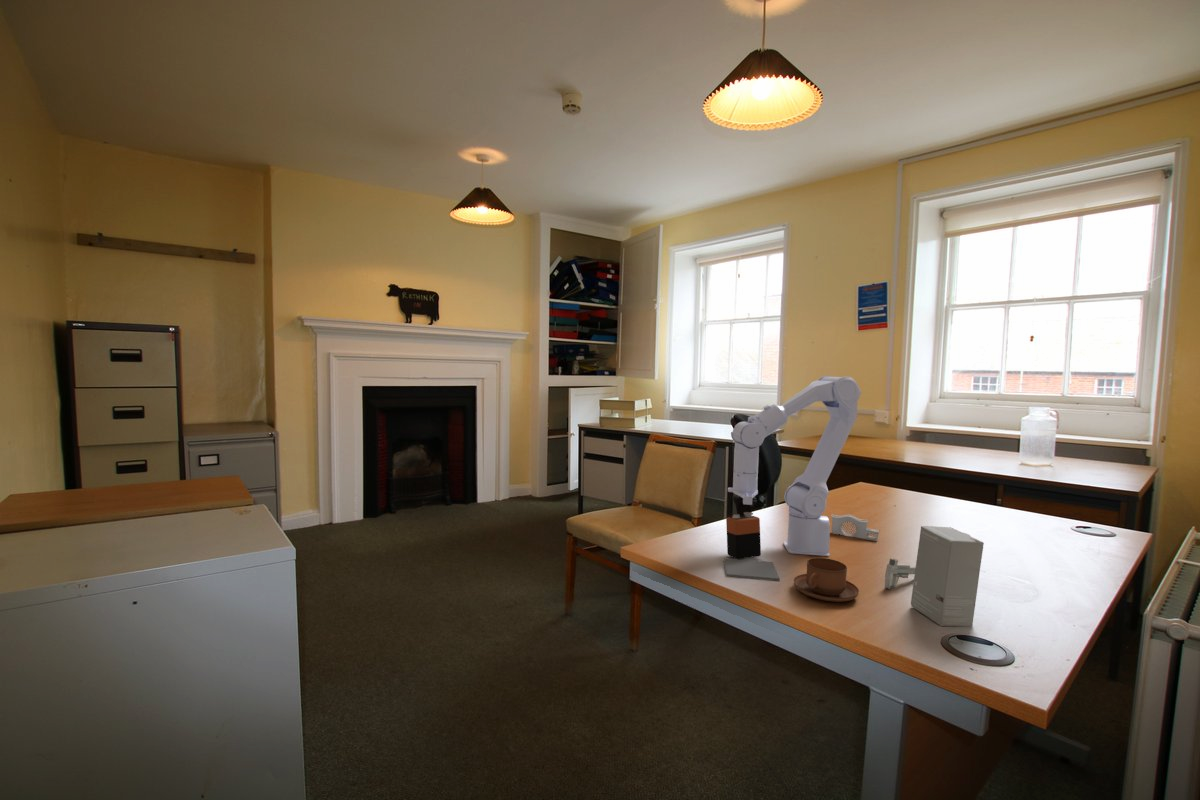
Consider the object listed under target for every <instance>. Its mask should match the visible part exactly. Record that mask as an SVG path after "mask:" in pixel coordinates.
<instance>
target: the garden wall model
mask: <svg viewBox="0 0 1200 800" xmlns="http://www.w3.org/2000/svg"><path fill="white" fill-rule="evenodd" d="M830 518H831V534H835V535H839V534H840V536H844V537H849V538H856V539H862V540H868V541H875V542H878V541H879V533H880V531H881V530H880V529H874V528H869V527H868V523H869V519H862V518H861V519H860V518H858V517H856V516H854V515H852V514H844V515H837V514H833V513H831V514H830Z"/></svg>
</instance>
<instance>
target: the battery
mask: <svg viewBox="0 0 1200 800" xmlns="http://www.w3.org/2000/svg"><path fill="white" fill-rule="evenodd" d="M725 521H726V523H725V524H726V525H725V526H726V544H727V545H726V546H727V548H726V550H727V555H728V556H730V557H732V558H733V559H741V560H744V559H750V558H757V557H760V556H761V555H762V549H761V524H760V523H761V519H760V517H759V516H755V515H754V512H745V513H744V515H742V516H740V515H739V514H737V513H736V514H735V513H734V514H733V515H732V516H727V517H726V519H725Z"/></svg>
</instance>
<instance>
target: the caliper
mask: <svg viewBox="0 0 1200 800" xmlns="http://www.w3.org/2000/svg"><path fill="white" fill-rule="evenodd" d="M915 568H916V565H912V566H911V565H909V564H906V563H899V559H896V558H889V561H888V563H887V564H886V568H885V575H884V588H885V589H887V590H891V588H892V589H896V588H897V585H898V582H899V581H900V578H902V579H909V575H915Z"/></svg>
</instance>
